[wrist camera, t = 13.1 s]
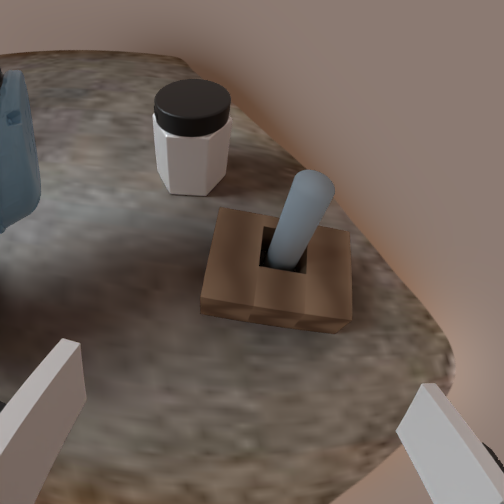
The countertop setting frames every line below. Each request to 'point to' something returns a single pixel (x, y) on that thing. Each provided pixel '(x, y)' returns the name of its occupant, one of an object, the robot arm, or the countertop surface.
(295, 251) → the peg
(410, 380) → the countertop surface
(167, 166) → the jar
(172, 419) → the countertop surface
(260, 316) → the hole block
